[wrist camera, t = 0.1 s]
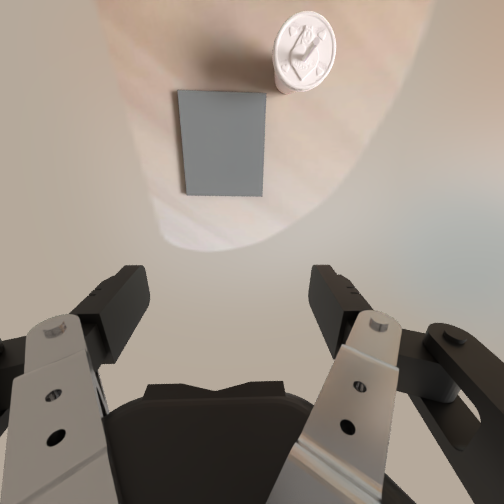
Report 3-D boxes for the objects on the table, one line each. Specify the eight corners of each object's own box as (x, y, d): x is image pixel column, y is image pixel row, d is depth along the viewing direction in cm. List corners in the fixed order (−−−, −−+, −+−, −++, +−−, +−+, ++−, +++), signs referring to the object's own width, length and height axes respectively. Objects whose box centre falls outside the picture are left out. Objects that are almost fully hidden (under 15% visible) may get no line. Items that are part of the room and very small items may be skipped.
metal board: (179, 91, 33) (177, 90, 32) (265, 94, 33) (266, 93, 32) (188, 194, 38) (186, 195, 37) (261, 195, 39) (262, 196, 38)
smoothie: (262, 102, 33) (275, 74, 21) (267, 46, 31) (285, -27, 18) (306, 107, 34) (345, 82, 21) (315, 51, 31) (365, -16, 19)
